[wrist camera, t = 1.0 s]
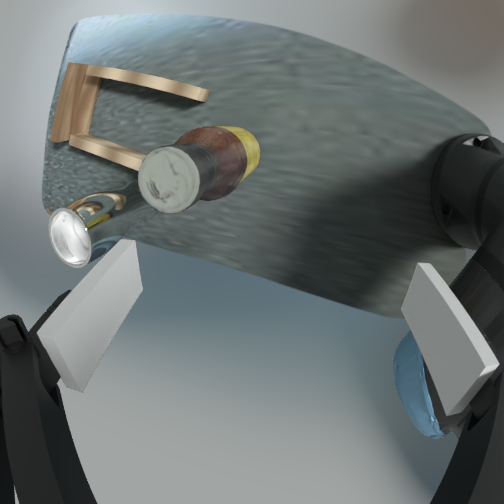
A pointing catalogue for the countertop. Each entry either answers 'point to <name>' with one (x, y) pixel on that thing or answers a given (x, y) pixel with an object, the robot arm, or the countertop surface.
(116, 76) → the bracket
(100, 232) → the beer glass
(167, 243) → the countertop surface
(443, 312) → the robot arm
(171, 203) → the sauce bottle
